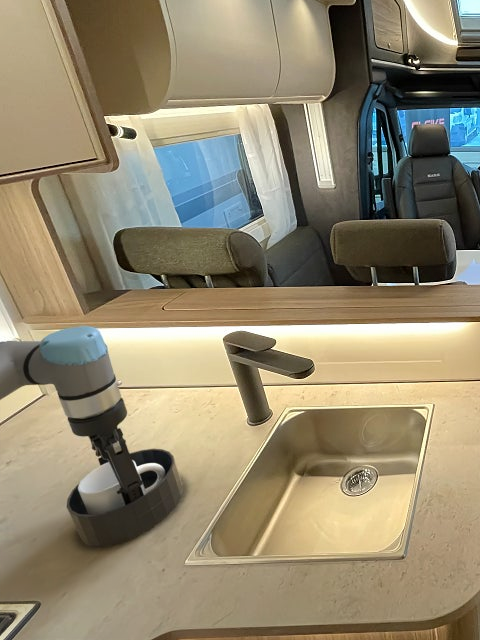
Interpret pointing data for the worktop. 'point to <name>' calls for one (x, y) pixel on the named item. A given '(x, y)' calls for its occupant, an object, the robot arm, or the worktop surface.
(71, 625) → the worktop surface
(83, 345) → the robot arm
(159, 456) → the pot
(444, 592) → the worktop surface
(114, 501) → the mug
